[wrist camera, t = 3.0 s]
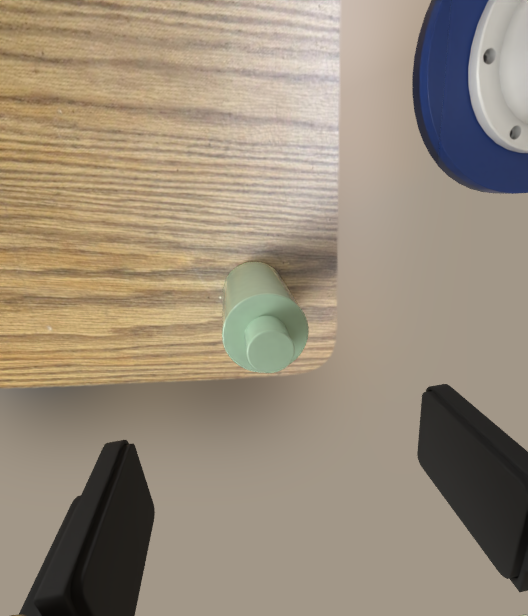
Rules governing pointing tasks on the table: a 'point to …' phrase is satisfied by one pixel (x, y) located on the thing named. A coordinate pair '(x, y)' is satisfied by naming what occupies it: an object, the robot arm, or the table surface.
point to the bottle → (261, 319)
